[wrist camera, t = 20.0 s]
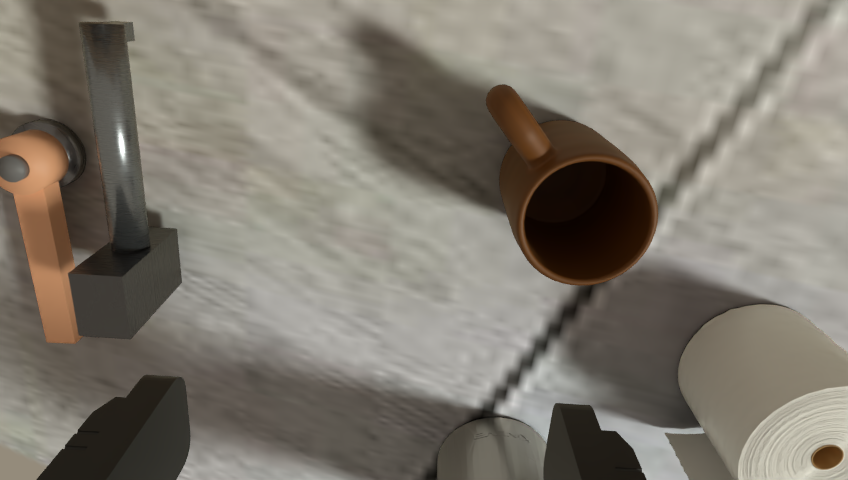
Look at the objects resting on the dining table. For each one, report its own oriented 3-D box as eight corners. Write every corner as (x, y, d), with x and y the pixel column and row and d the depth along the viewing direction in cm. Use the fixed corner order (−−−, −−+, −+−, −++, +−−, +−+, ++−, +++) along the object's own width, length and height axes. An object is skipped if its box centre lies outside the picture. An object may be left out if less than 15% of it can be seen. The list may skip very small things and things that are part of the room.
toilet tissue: (845, 312, 43) (957, 398, 34) (785, 444, 48) (870, 552, 38) (700, 293, 43) (773, 374, 34) (654, 427, 47) (707, 532, 38)
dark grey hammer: (181, 282, 42) (130, 339, 35) (138, 279, 42) (78, 335, 35) (157, 22, 35) (87, 28, 28) (105, 19, 35) (24, 24, 28)
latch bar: (50, 328, 44) (24, 351, 41) (6, 128, 38) (-28, 138, 35) (100, 331, 43) (77, 353, 41) (63, 130, 38) (33, 141, 35)
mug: (434, 109, 38) (433, 142, 30) (534, 33, 37) (564, 44, 28) (537, 248, 42) (564, 314, 33) (633, 185, 40) (688, 237, 31)
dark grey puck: (90, 186, 41) (82, 190, 40) (25, 182, 41) (16, 186, 40) (80, 121, 39) (71, 124, 38) (13, 117, 39) (2, 120, 38)
